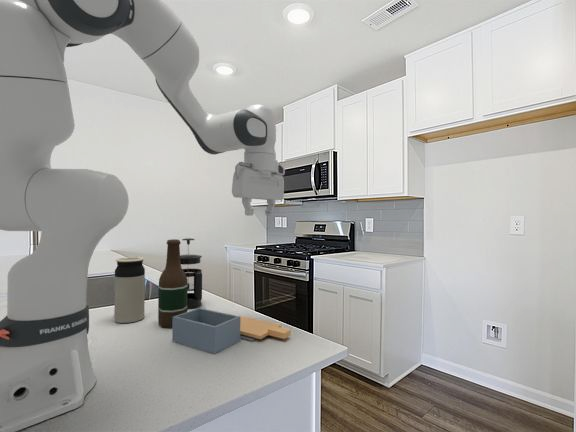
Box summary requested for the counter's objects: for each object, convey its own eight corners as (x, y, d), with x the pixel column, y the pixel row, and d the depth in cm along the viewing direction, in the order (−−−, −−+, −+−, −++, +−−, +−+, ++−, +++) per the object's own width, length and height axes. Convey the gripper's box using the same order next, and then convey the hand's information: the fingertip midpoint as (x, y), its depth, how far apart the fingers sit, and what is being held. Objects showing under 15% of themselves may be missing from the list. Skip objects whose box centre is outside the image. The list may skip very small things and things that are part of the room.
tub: (214, 354, 72) (215, 327, 72) (172, 341, 79) (172, 316, 79) (240, 340, 80) (240, 316, 80) (199, 330, 87) (199, 307, 87)
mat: (252, 341, 79) (252, 340, 79) (210, 331, 86) (210, 329, 86) (276, 328, 88) (276, 327, 88) (236, 319, 95) (236, 318, 95)
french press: (166, 306, 109) (166, 238, 109) (189, 300, 117) (190, 237, 116) (187, 312, 102) (188, 240, 102) (211, 305, 110) (211, 238, 110)
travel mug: (144, 321, 93) (145, 259, 93) (113, 325, 90) (113, 261, 90) (144, 313, 100) (144, 256, 100) (115, 317, 97) (115, 257, 97)
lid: (277, 345, 76) (277, 337, 76) (216, 329, 86) (216, 322, 86) (296, 332, 84) (297, 325, 84) (239, 319, 94) (239, 313, 94)
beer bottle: (151, 325, 90) (152, 240, 90) (173, 317, 97) (174, 238, 96) (171, 330, 86) (172, 241, 86) (192, 322, 93) (193, 239, 93)
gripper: (245, 159, 79) (245, 215, 79) (287, 169, 97) (287, 215, 97) (226, 161, 82) (225, 215, 82) (270, 171, 100) (270, 215, 100)
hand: (259, 215), depth 90 cm, fingers open, 8 cm apart
